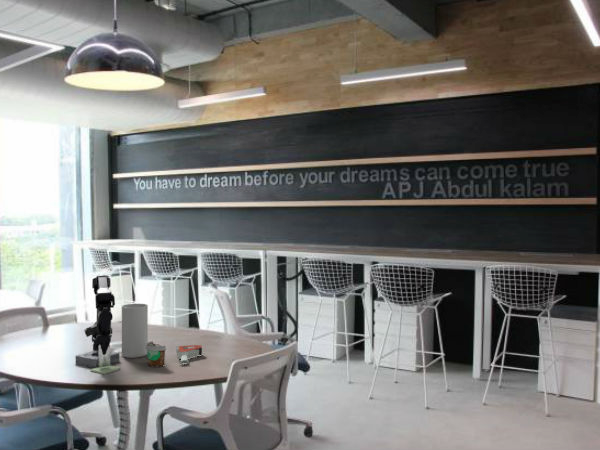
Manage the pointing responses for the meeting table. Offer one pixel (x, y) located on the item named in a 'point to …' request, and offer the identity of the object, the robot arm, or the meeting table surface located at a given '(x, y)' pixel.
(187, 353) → the grey and red box
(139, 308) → the cylinder vase
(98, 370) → the mat
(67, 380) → the meeting table surface
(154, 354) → the food container
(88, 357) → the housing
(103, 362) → the silver upright cylinder
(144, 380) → the meeting table surface
